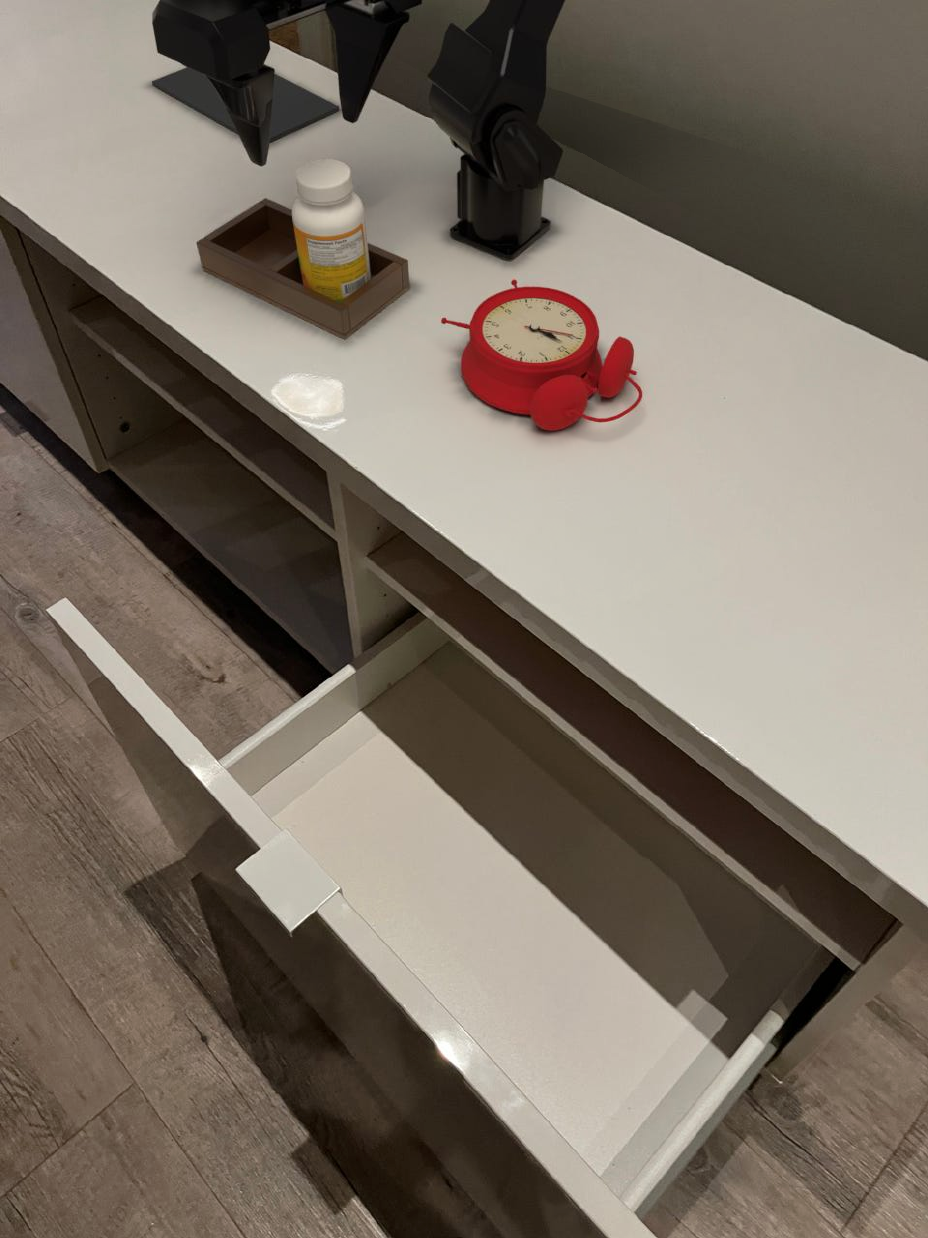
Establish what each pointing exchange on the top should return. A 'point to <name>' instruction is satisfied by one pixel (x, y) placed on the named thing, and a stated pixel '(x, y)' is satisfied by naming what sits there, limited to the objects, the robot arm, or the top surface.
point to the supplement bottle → (330, 230)
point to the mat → (196, 91)
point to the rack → (295, 270)
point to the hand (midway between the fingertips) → (305, 141)
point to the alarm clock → (542, 356)
